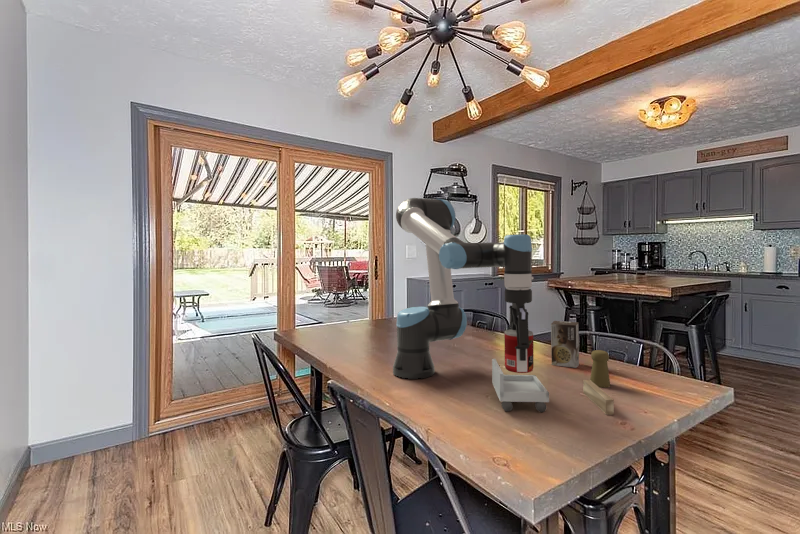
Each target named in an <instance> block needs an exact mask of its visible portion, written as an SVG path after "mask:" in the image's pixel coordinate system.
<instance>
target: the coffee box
mask: <svg viewBox="0 0 800 534" xmlns="http://www.w3.org/2000/svg"><path fill="white" fill-rule="evenodd" d="M579 325H580V323H579V322H577V321H565V320H563V321H562V320H554V321H552V323H550V338H551V339H550V340H551V344H550V345H551V351H550V352H551V363H550V365H551V366H557V367H566V368H573V369H574V368H575V369H577V368H578V367H579V365H580V346H579V345H580V340H579V339H580V336H579V333H580V332H579V328H580V327H579Z"/></svg>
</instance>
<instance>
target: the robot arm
mask: <svg viewBox="0 0 800 534" xmlns="http://www.w3.org/2000/svg"><path fill="white" fill-rule="evenodd" d="M455 211H456V210H455V208H454V206H453V204H452V202H450V201H448V200H446V199H441V198H422V197H421V198H419V197H410V198H408V199H405V200H403V201H402V202H401V203H400V204H399V205H398V207H397V209H396V212H395V219H396V223H397V224H398V225H399V227H400V228H401V229H402V230H403V231H405V232H406V233H410V234H412V235H414V236H415V237H417V238H418V239H419V240H420V241H422V242H423V243H424V244H425V251H426V260H427V270H428V273H427V274H428V281H429V291H430V302H429V303H428V304H427V306H412V307H408V308H404V309H402V310H400V311H399V312H398V313H397V315H396V325H395V326H396V342H397V343H396V347H397V348H396V349H397V352H396V355H395V359H394V362H393V364H392V374H393V375H394V376H395V375H396V376H395V377H397V376H399V377H398V378H400V377H402V378H401V379H405V378H408V379H407V380H419V379H418V378H421V379H427V378H430V377H431V376H433V375H434V374H435V371H436V370H435V364H434V362H433V361H434V360H433V358H432V355H431V353H430V343H432V342H434V343H435V342H440V341H446V340H448V341H451V340H454V339H457V338H460V337H461V336H463V334H464V333H465V331H466V329H467V324H468V323H467V321H468V319H467V313H466V312H465V310H464V309H463V308H462V307H460V305H459V302H458V301H457V300H456V299H455V296H454V289H453V288H454V286H453V277H452V270H460V269H473V268H474V269H475V268H477V269H478V268H481V269H482V268H504V273H503V275H504V276H503V277H504V278H503V279H504V282H503V283H504V288H505V289H504V301H505V302H506V303H508V304H511V305H509V330H510V329H512V330H516V333H517V345H518V346H516V347H515V349H517V372H527V348H529V333H528V330H529V312H528V310H527V309H526V307H525V304H530V303H532V301H533V290H532V289H531V288H532V286H533V285H532V281H533V280H534V276H533V275H532V273H533V272H532V265H533V264H532V262H533V261H532V257H533V256H532V255H533V248H532V247H533V245H532V238H531V235H529V234H506V235H505V236H504V239H503V242H464V241H463V240H462V239H460V238H458V237H457V236H455V235H454V234H452V233H451V232H452V231H451V229H452V228H453V227H454V225H455V222H456V212H455ZM522 343H525V344H522Z"/></svg>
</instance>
